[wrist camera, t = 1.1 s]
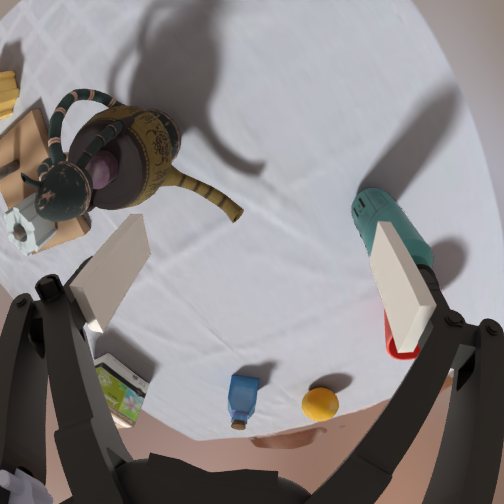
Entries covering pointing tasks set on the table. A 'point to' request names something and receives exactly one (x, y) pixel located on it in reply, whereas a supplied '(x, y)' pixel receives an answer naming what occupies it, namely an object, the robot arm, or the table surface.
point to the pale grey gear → (29, 226)
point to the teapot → (112, 162)
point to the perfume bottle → (242, 400)
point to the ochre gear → (7, 93)
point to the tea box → (120, 390)
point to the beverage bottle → (386, 209)
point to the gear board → (31, 173)
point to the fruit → (320, 404)
